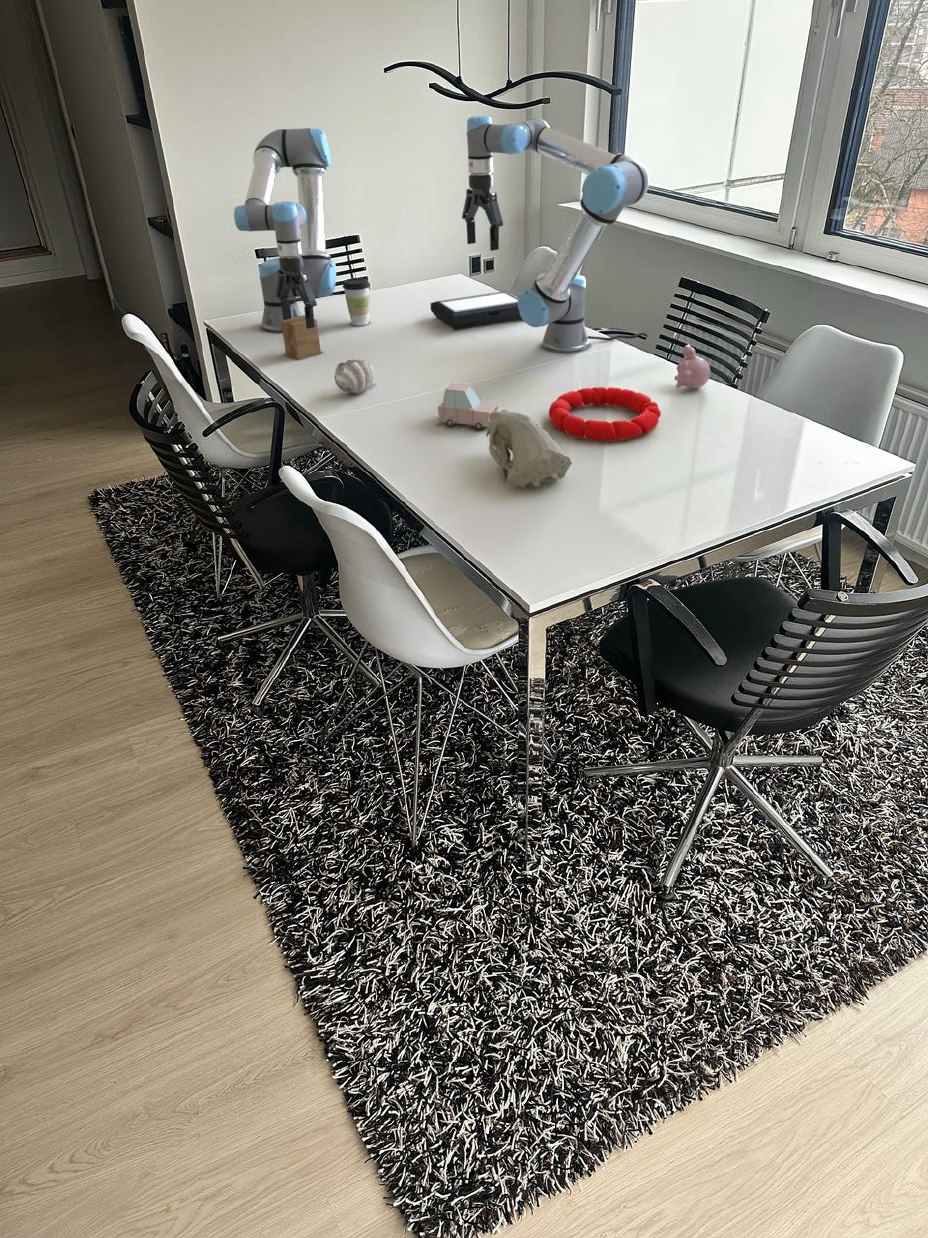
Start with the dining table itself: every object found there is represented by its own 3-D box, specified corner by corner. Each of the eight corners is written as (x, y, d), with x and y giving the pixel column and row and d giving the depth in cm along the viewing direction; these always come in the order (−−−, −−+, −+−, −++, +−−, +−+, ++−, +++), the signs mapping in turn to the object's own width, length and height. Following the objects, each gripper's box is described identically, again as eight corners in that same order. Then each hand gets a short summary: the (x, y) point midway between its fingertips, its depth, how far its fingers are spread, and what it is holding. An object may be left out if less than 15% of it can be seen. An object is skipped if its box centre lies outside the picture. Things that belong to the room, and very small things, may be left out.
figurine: (665, 387, 264) (669, 347, 257) (693, 380, 268) (698, 340, 261) (686, 396, 257) (690, 355, 250) (714, 388, 262) (720, 348, 255)
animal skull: (496, 517, 219) (521, 479, 201) (463, 429, 225) (484, 384, 207) (557, 503, 225) (586, 465, 206) (523, 417, 231) (549, 373, 212)
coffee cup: (372, 326, 323) (368, 283, 314) (345, 327, 323) (340, 284, 315) (374, 318, 331) (371, 276, 322) (348, 319, 331) (344, 277, 323)
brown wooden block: (285, 354, 300) (281, 320, 294) (308, 348, 305) (303, 314, 299) (298, 359, 295) (293, 325, 289) (320, 353, 300) (316, 319, 294)
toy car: (488, 432, 240) (488, 396, 234) (436, 426, 244) (434, 390, 239) (499, 419, 247) (499, 384, 241) (448, 413, 252) (447, 379, 246)
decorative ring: (589, 435, 224) (684, 402, 234) (527, 398, 247) (617, 369, 256) (589, 461, 229) (683, 427, 238) (529, 422, 251) (617, 393, 260)
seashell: (327, 392, 269) (323, 359, 263) (372, 382, 274) (369, 350, 269) (340, 402, 261) (336, 369, 255) (386, 392, 267) (383, 359, 261)
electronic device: (452, 314, 311) (430, 300, 326) (452, 332, 314) (431, 318, 330) (532, 301, 321) (508, 289, 336) (532, 319, 325) (508, 305, 340)
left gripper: (259, 252, 288) (269, 319, 300) (302, 263, 272) (311, 333, 284) (279, 248, 292) (287, 314, 304) (322, 259, 277) (330, 328, 288)
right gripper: (449, 170, 282) (452, 242, 294) (492, 178, 264) (494, 254, 276) (469, 168, 285) (471, 239, 297) (513, 175, 267) (514, 250, 279)
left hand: (299, 323), depth 294 cm, fingers open, 13 cm apart
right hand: (482, 246), depth 286 cm, fingers open, 13 cm apart
